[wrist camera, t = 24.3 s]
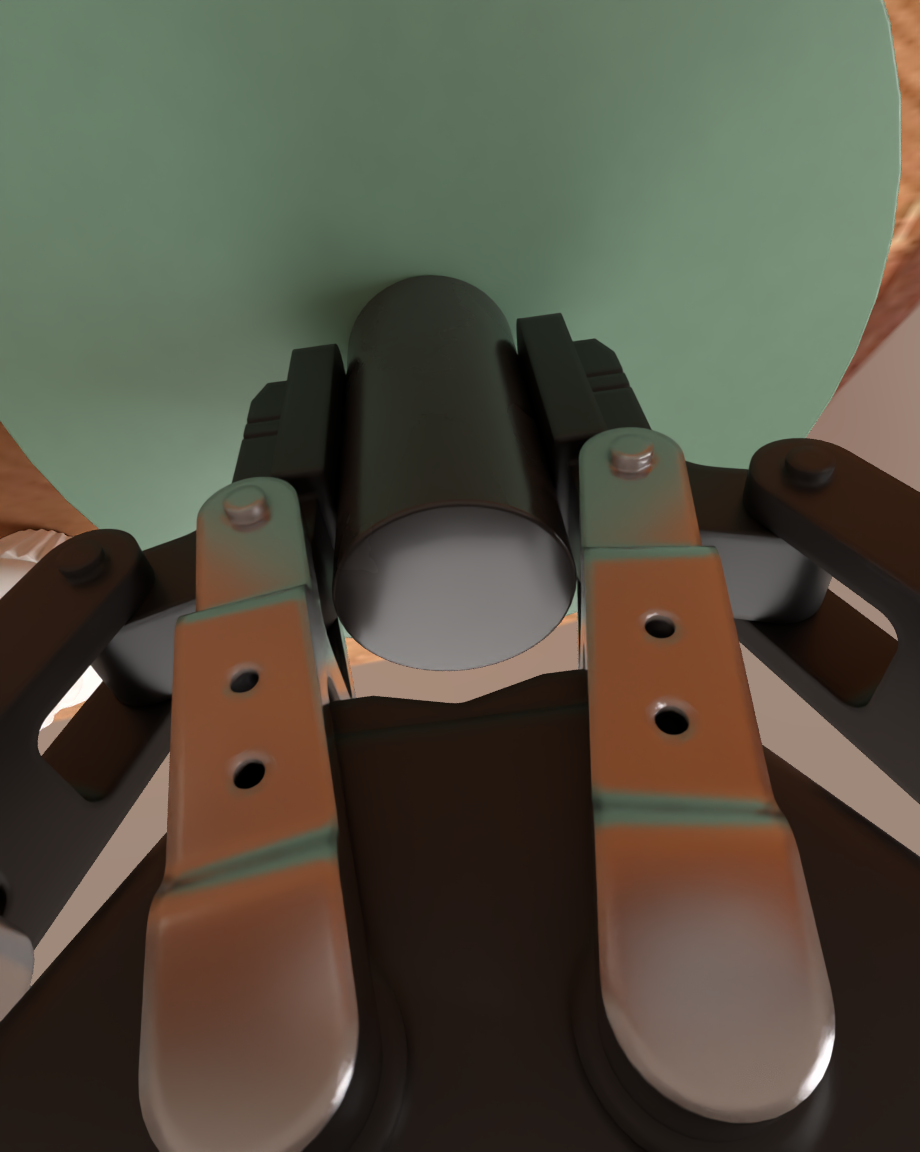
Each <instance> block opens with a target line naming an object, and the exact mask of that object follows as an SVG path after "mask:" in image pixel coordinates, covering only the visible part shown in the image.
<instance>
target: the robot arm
mask: <svg viewBox="0 0 920 1152" xmlns="http://www.w3.org/2000/svg"><path fill="white" fill-rule="evenodd" d="M516 333H517V353H518V358H519V362H520V365H521V369H522V373H523V376H524V380H525V383H526V387H527V391H528V394H529V398H530V402H531V405H532V409H533V412H534V416H535V420H536V423H537V427H538V431H539V434H540V438H541V441H542V445H543V449H544V452H545V456H546V460H547V463H548V467H549V470H550V474H551V478H552V481H553V485H554V489H555V492H556V496H557V499H558V503H559V507H560V510H561V514H562V517H563V521H564V525H565V528H566V532H567V536H568V539H569V543H570V546H571V550H572V554H573V557H574V561H575V565H576V570H577V629H578V630H577V632H578V670H571V671H563V672H555V673H547V674H542V675H539V676H536V677H534V678H531V679H528V680H525V681H523V682H520V683H517V684H514V685H511V686H509V687H506V688H503V689H501V690H498V691H495V692H492V693H490V694H487V695H484V696H481V697H479V698H475V699H473V700H470V701H467V702H463V703H443V702H433V701H432V702H431V701H422V700H412V699H401V698H391V697H380V696H369V697H361V698H356V695H355V689H354V684H353V679H352V673H351V668H350V663H349V657H348V652H347V647H346V642H345V636H344V631H343V626H342V624H341V622H340V620H339V618H338V616H337V613H336V611H335V608H334V604H333V600H332V576H333V561H334V547H335V532H336V517H337V502H338V488H339V473H340V458H341V443H342V429H343V414H344V399H345V384H346V372H345V368H344V364H343V360H342V356H341V353H340V350H339V347H338V345H337V344H328V345H321V346H314V347H307V348H300V349H293V351H292V354H291V360H290V365H289V371H288V377H287V380H286V381H279V382H272V383H267V384H266V385H265V386H264V387H263V389H262V390H261V391H260V392H259V393H258V394H257V395H256V397H255V398H254V399H253V400H252V401H251V404H250V408H249V413H248V417H247V424H246V425H245V429H244V434H243V437H244V439H243V440H242V442H241V446H240V450H239V455H238V459H237V463H236V467H235V472H234V476H233V480H232V484H229V485H227V486H225V487H223V488H221V489H220V490H218V491H217V492H215V493H214V494H213V495H212V496H210V497H209V498H208V499H207V500H206V501H205V502H204V504H203V505H202V507H201V508H200V510H199V512H198V515H197V524H196V530H195V531H193V532H191V533H189V534H187V535H185V536H182V537H180V538H177V539H174V540H171V541H169V542H166V543H163V544H160V545H157V546H155V547H152V548H149V549H146V550H143V551H142V549H141V548H140V546H139V544H138V543H137V541H136V539H135V538H134V537H133V536H132V535H131V534H129V533H127V532H125V531H122V530H118V529H99V530H93V531H89V532H85V533H82V534H80V535H77V536H74V537H72V538H70V539H68V540H66V541H64V542H63V543H61V544H59V545H58V546H56V547H55V548H53V549H52V550H51V551H49V552H48V553H47V554H46V555H45V556H44V557H43V558H42V559H41V560H40V561H39V562H38V563H37V564H36V565H35V566H34V567H32V568H31V569H30V570H29V571H28V572H27V573H26V574H25V575H24V576H23V577H22V578H21V579H20V580H19V581H18V582H17V583H16V584H15V585H14V586H13V587H12V588H11V589H10V590H9V591H8V592H7V593H6V594H5V595H4V596H3V597H2V598H1V599H0V1152H920V857H919V856H918V855H917V854H915V853H914V852H912V851H911V850H910V849H908V848H907V847H905V846H904V845H903V844H901V843H900V842H898V841H897V840H896V839H894V838H893V837H891V836H890V835H888V834H887V833H886V832H884V831H883V830H882V829H880V828H879V827H877V826H876V825H875V824H873V823H872V822H870V821H869V820H868V819H866V818H865V817H863V816H862V815H860V814H859V813H858V812H856V811H855V810H853V809H852V808H851V807H849V806H848V805H846V804H845V803H844V802H842V801H841V800H839V799H838V798H836V797H835V796H834V795H832V794H831V793H830V792H828V791H827V790H825V789H824V788H822V787H821V786H820V785H818V784H817V783H815V782H814V781H812V780H811V779H810V778H808V777H807V776H806V775H804V774H803V773H801V772H800V771H799V770H797V769H796V768H794V767H793V766H792V765H790V764H789V763H787V762H786V761H785V760H783V759H782V758H780V757H779V756H778V755H776V754H775V753H773V752H772V751H770V750H769V749H768V748H766V747H765V746H763V745H762V743H761V738H760V734H759V729H758V725H757V721H756V716H755V711H754V707H753V702H752V698H751V693H750V689H749V684H748V680H747V675H746V671H745V666H744V662H743V658H742V653H741V648H740V644H739V642H740V643H742V644H743V645H744V646H745V647H746V648H747V649H748V650H750V652H752V653H753V654H754V655H755V656H756V657H757V658H758V659H759V660H760V661H762V662H763V663H764V664H765V665H766V666H767V667H768V668H769V669H770V670H772V671H773V672H774V673H775V674H776V675H777V676H778V677H779V678H780V679H781V680H783V681H784V682H785V683H786V684H787V685H788V686H789V687H790V688H792V689H793V690H794V691H795V692H796V693H797V694H798V695H799V696H800V697H801V698H803V699H804V700H805V701H806V702H807V703H808V704H809V705H810V706H811V707H813V708H814V709H815V710H816V711H817V712H818V713H819V714H820V715H821V716H823V717H824V718H825V719H826V720H827V721H828V722H829V723H831V725H833V726H834V727H835V728H836V729H837V730H838V731H839V732H840V733H841V734H843V735H844V736H845V737H846V738H847V739H848V740H849V741H850V742H851V743H852V744H854V745H855V746H856V747H857V748H858V749H859V750H860V751H861V752H862V753H863V754H865V755H866V756H867V757H868V758H869V759H870V760H871V761H873V762H874V763H875V764H876V765H877V766H878V767H879V768H880V769H881V770H882V771H884V772H885V773H886V774H887V775H888V776H889V777H890V778H891V779H892V780H893V781H894V782H896V783H897V784H898V785H899V786H900V787H901V788H902V789H903V790H904V791H906V792H907V793H908V794H909V795H910V796H911V797H912V798H913V799H914V800H916V801H917V802H918V803H919V804H920V492H918V491H916V490H915V489H913V488H911V487H910V486H908V485H906V484H905V483H903V482H901V481H899V480H898V479H896V478H894V477H892V476H891V475H889V474H887V473H886V472H884V471H882V470H880V469H879V468H877V467H875V466H874V465H872V464H870V463H868V462H867V461H865V460H863V459H862V458H860V457H858V456H856V455H855V454H853V453H851V452H850V451H848V450H846V449H844V448H842V447H840V446H837V445H834V444H832V443H829V442H825V441H821V440H816V439H807V438H789V439H782V440H777V441H774V442H771V443H768V444H766V445H764V446H762V447H761V448H759V449H758V450H757V451H756V452H755V453H754V455H753V456H752V458H751V461H750V464H749V469H738V468H725V467H713V466H705V465H700V464H695V463H692V462H688V461H685V457H684V453H683V451H682V449H681V447H680V446H679V445H678V444H677V443H676V442H675V441H674V440H673V439H671V438H670V437H668V436H667V435H664V434H662V433H660V432H657V431H654V430H652V429H651V427H650V425H649V423H648V421H647V419H646V416H645V414H644V412H643V410H642V408H641V406H640V404H639V402H638V400H637V398H636V395H635V393H634V391H633V389H632V387H630V383H629V381H628V379H627V376H626V374H625V373H623V368H622V366H621V364H620V362H619V360H618V358H617V355H616V353H615V352H614V351H613V350H611V349H610V348H608V347H607V346H606V345H604V344H603V343H601V342H600V341H598V340H597V339H595V338H593V339H586V340H579V341H572V338H571V336H570V333H569V331H568V328H567V326H566V323H565V321H564V318H563V316H562V314H561V313H554V314H547V315H539V316H532V317H525V318H518V319H517V323H516ZM832 576H833V577H834V578H836V579H837V580H838V581H840V582H841V583H842V584H844V585H845V586H846V587H848V588H849V589H851V590H852V591H853V592H855V593H856V594H857V595H859V596H860V597H861V598H863V599H864V600H865V601H867V602H868V603H870V604H871V605H872V606H874V607H875V608H876V609H878V610H879V611H880V612H881V613H883V614H884V615H885V616H886V617H887V618H888V620H889V621H890V622H891V624H892V625H893V627H894V629H895V631H896V634H897V638H898V641H897V640H896V639H894V638H893V637H892V636H890V635H889V634H888V633H886V632H885V631H884V630H882V629H881V628H880V627H878V626H877V625H876V624H874V623H873V622H872V621H870V620H869V619H868V618H866V617H865V616H864V615H862V614H861V613H860V612H858V611H857V610H856V609H854V608H853V607H852V606H850V605H849V604H848V603H846V602H845V601H844V600H842V599H841V598H840V597H838V596H837V595H835V594H834V593H833V592H832V591H830V590H829V589H828V586H829V584H830V581H831V579H832ZM90 665H91V666H92V668H93V669H94V670H95V672H96V673H97V674H98V675H99V677H100V678H101V679H102V680H103V681H102V682H101V684H100V685H99V686H98V687H97V688H96V690H95V691H94V692H93V693H92V695H91V696H90V697H89V698H88V700H87V701H86V702H85V703H84V704H83V706H82V707H81V708H80V709H79V711H78V712H77V713H76V714H75V716H74V717H73V718H72V719H71V720H70V722H69V723H68V724H67V726H66V727H65V728H64V729H63V730H62V732H61V733H60V734H59V735H58V737H57V738H56V739H55V740H54V741H53V743H52V744H51V745H50V747H49V748H48V749H47V750H46V751H45V752H44V754H43V755H42V756H41V755H40V753H39V750H38V735H39V731H40V729H41V726H42V724H43V722H44V721H45V719H46V718H47V716H48V715H49V714H50V713H51V711H52V710H53V709H54V708H55V707H56V706H57V704H58V703H59V702H60V701H61V700H62V698H63V697H64V696H65V695H66V694H67V692H68V691H69V690H70V689H71V688H72V687H73V685H74V684H75V683H76V682H77V681H78V679H79V678H80V677H81V676H82V675H83V673H84V672H85V671H86V670H87V669H88V667H89V666H90ZM169 752H170V766H169V768H170V769H169V793H168V819H167V820H168V821H167V833H166V834H165V835H164V836H163V837H162V838H161V839H160V840H159V842H158V843H157V844H156V845H155V846H154V847H153V848H152V850H151V851H150V852H149V853H148V854H147V855H146V856H145V858H144V859H143V860H142V861H141V862H140V863H139V864H138V865H137V867H136V868H135V869H134V870H133V871H132V872H131V873H130V875H129V876H128V877H127V878H126V879H125V880H124V881H123V883H122V884H121V885H120V886H119V887H118V888H117V889H116V891H115V892H114V893H113V894H112V895H111V896H110V897H109V899H108V900H107V901H106V902H105V903H104V904H103V905H102V907H101V908H100V909H99V910H98V911H97V912H96V913H95V914H94V916H93V917H92V918H91V919H90V920H89V921H88V923H87V924H86V925H85V926H84V927H83V928H82V929H81V931H80V932H79V933H78V934H77V935H76V936H75V937H74V938H73V940H72V941H71V942H70V943H69V944H68V945H67V946H66V948H65V949H64V950H63V951H62V952H61V953H60V954H59V956H58V957H57V958H56V959H55V960H54V961H53V962H52V963H51V965H50V966H49V967H48V968H47V969H46V970H45V971H44V973H43V974H42V975H41V976H40V977H39V979H37V981H36V982H35V983H34V984H33V985H32V986H30V983H31V979H32V974H33V968H34V950H35V948H36V947H37V945H38V944H39V942H40V940H41V939H42V938H43V936H44V935H45V933H46V932H47V930H48V929H49V928H50V926H51V925H52V923H53V922H54V920H55V919H56V917H57V916H58V914H59V913H60V911H61V910H62V909H63V907H64V906H65V904H66V903H67V901H68V900H69V898H70V897H71V895H72V894H73V892H74V891H75V889H76V888H77V887H78V885H79V884H80V882H81V881H82V879H83V877H84V876H85V874H86V873H87V872H88V870H89V869H90V868H91V866H92V865H93V863H94V862H95V860H96V859H97V857H98V856H99V854H100V853H101V851H102V850H103V848H104V847H105V846H106V844H107V843H108V841H109V840H110V838H111V837H112V835H113V834H114V832H115V831H116V829H117V828H118V827H119V825H120V824H121V822H122V821H123V819H124V818H125V816H126V815H127V813H128V812H129V810H130V809H131V807H132V806H133V805H134V803H135V802H136V800H137V799H138V797H139V796H140V794H141V793H142V791H143V790H144V788H145V787H146V785H147V784H148V782H149V781H150V780H151V778H152V777H153V775H154V774H155V772H156V771H157V769H158V768H159V766H160V765H161V763H162V762H163V761H164V759H165V758H166V756H167V755H168V753H169Z"/></svg>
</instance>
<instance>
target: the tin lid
mask: <svg viewBox="0 0 920 1152" xmlns="http://www.w3.org/2000/svg"><path fill="white" fill-rule="evenodd" d="M901 169H902V154H901V92H900V86H899V79H898V72H897V65H896V58H895V51H894V44H893V37H892V30H891V23H890V19H889V15H888V12H887V9H886V5H885V2H884V0H0V422H1V423H2V424H3V426H4V427H5V428H6V430H7V431H8V432H9V434H10V435H11V436H12V438H13V439H14V440H15V442H16V443H17V444H18V446H19V447H20V448H21V450H22V451H23V452H24V454H25V455H26V456H27V458H28V459H29V460H30V462H31V463H32V464H33V465H34V466H35V467H36V468H37V469H38V470H39V471H40V472H41V473H42V475H43V476H44V477H45V478H46V479H47V480H48V481H49V482H50V483H51V484H52V485H53V486H54V487H55V488H56V490H57V491H58V492H59V493H60V494H61V495H62V496H63V497H64V498H65V499H66V500H67V501H68V502H69V503H70V504H71V505H72V506H73V507H74V508H76V509H77V510H78V511H79V512H80V513H81V514H83V515H84V516H85V517H86V518H87V519H88V520H89V521H91V522H92V523H93V524H94V525H95V526H96V527H97V528H99V529H118V530H122V531H125V532H127V533H129V534H131V535H132V536H133V537H134V538H135V539H136V541H137V543H138V544H139V546H140V548H141V549H142V551H143V550H146V549H149V548H152V547H155V546H157V545H160V544H163V543H166V542H169V541H171V540H174V539H177V538H180V537H182V536H185V535H187V534H189V533H191V532H193V531H195V530H196V524H197V515H198V512H199V510H200V508H201V507H202V505H203V504H204V502H205V501H206V500H207V499H208V498H209V497H210V496H212V495H213V494H214V493H215V492H217V491H218V490H220V489H221V488H223V487H225V486H227V485H229V484H232V480H233V476H234V472H235V467H236V463H237V459H238V455H239V450H240V446H241V442H242V440H243V439H244V437H243V434H244V429H245V425H246V424H247V417H248V413H249V408H250V404H251V401H252V400H253V399H254V398H255V397H256V395H257V394H258V393H259V392H260V391H261V390H262V389H263V387H264V386H265V385H266V384H267V383H272V382H279V381H286V380H287V377H288V371H289V365H290V360H291V354H292V351H293V349H300V348H307V347H314V346H321V345H328V344H337V345H338V347H339V350H340V353H341V356H342V360H343V364H344V368H345V372H346V384H345V399H344V414H343V429H342V443H341V458H340V473H339V488H338V502H337V517H336V532H335V547H334V561H333V576H332V600H333V604H334V608H335V611H336V613H337V616H338V618H339V620H340V622H341V624H342V626H343V631H344V636H345V637H347V638H353V639H354V640H355V641H356V642H358V643H359V644H360V645H361V646H363V647H364V648H365V649H367V650H368V651H370V652H372V653H373V654H375V655H377V656H379V657H381V658H383V659H385V660H388V661H390V662H394V663H396V664H399V665H403V666H407V667H411V668H416V669H423V670H433V671H458V670H469V669H474V668H481V667H485V666H488V665H493V664H496V663H499V662H502V661H505V660H508V659H510V658H513V657H514V656H517V655H519V654H521V653H523V652H525V651H527V650H528V649H530V648H532V647H534V646H535V645H536V644H538V643H539V642H540V641H542V640H543V639H545V638H546V637H547V636H548V635H549V634H550V633H551V632H552V631H553V630H554V629H555V628H556V627H557V626H558V625H559V624H560V623H561V621H562V620H563V618H564V617H565V616H567V615H570V614H573V613H575V612H577V570H576V565H575V561H574V557H573V554H572V550H571V546H570V543H569V539H568V536H567V532H566V528H565V525H564V521H563V517H562V514H561V510H560V507H559V503H558V499H557V496H556V492H555V489H554V485H553V481H552V478H551V474H550V470H549V467H548V463H547V460H546V456H545V452H544V449H543V445H542V441H541V438H540V434H539V431H538V427H537V423H536V420H535V416H534V412H533V409H532V405H531V402H530V398H529V394H528V391H527V387H526V383H525V380H524V376H523V373H522V369H521V365H520V362H519V358H518V353H517V333H516V323H517V319H518V318H525V317H532V316H539V315H547V314H554V313H561V314H562V316H563V318H564V321H565V323H566V326H567V328H568V331H569V333H570V336H571V338H572V341H579V340H586V339H593V338H595V339H597V340H598V341H600V342H601V343H603V344H604V345H606V346H607V347H608V348H610V349H611V350H613V351H614V352H615V353H616V355H617V358H618V360H619V362H620V364H621V366H622V368H623V373H625V374H626V376H627V379H628V381H629V383H630V387H632V389H633V391H634V393H635V395H636V398H637V400H638V402H639V404H640V406H641V408H642V410H643V412H644V414H645V416H646V419H647V421H648V423H649V425H650V427H651V429H652V430H654V431H657V432H660V433H662V434H664V435H667V436H668V437H670V438H671V439H673V440H674V441H675V442H676V443H677V444H678V445H679V446H680V447H681V449H682V451H683V453H684V457H685V461H688V462H692V463H695V464H700V465H705V466H713V467H725V468H738V469H749V464H750V461H751V458H752V456H753V455H754V453H755V452H756V451H757V450H758V449H759V448H761V447H762V446H764V445H766V444H768V443H771V442H774V441H777V440H782V439H789V438H806V436H807V435H808V433H809V432H810V430H811V429H812V427H813V426H814V424H815V423H816V421H817V420H818V418H819V417H820V415H821V414H822V412H823V411H824V409H825V408H826V406H827V405H828V403H829V402H830V400H831V399H832V397H833V395H834V393H835V391H836V389H837V387H838V385H839V383H840V381H841V379H842V377H843V375H844V374H845V372H846V370H847V368H848V366H849V364H850V362H851V360H852V358H853V356H854V354H855V352H856V350H857V348H858V345H859V343H860V340H861V337H862V335H863V332H864V330H865V327H866V324H867V322H868V319H869V317H870V314H871V311H872V309H873V306H874V304H875V301H876V298H877V296H878V292H879V288H880V284H881V280H882V277H883V273H884V269H885V265H886V261H887V257H888V253H889V249H890V245H891V241H892V237H893V232H894V224H895V216H896V209H897V201H898V193H899V185H900V177H901Z"/></svg>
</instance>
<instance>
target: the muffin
mask: <svg viewBox="0 0 920 1152" xmlns="http://www.w3.org/2000/svg"><path fill="white" fill-rule="evenodd" d="M70 538H72V536H66V535H65V534H64V533H57V532H55V531H53V530H51V531H46V530H44V529H40V530H38V531H35V530H32V529H28V530H26V531H18V532H16V533H14V534H11V535H8V536H6V537H4V538H1V539H0V599H1V598H2V597H3V596H4V595H5V594H6V593H7V592H8V591H9V590H10V589H11V588H12V587H13V586H14V585H15V584H16V583H17V582H18V581H19V580H20V579H21V578H22V577H23V576H24V575H25V574H26V573H27V572H28V571H29V570H30V569H31V568H32V567H34V566H35V565H36V564H37V563H38V562H39V561H40V560H41V559H42V558H43V557H44V556H45V555H46V554H47V553H48V552H49V551H51V550H52V549H53V548H55V547H56V546H58V545H59V544H61V543H63V542H64V541H66V540H68V539H70ZM102 681H103V680H102V679H101V678H100V677H99V675H98V674H97V673H96V672H95V670H94V669H93V668H92V666H91V665H90V666H89V667H88V669H87V670H86V671H85V672H84V673H83V675H82V676H81V677H80V678H79V679H78V681H77V682H76V683H75V684H74V685H73V687H72V688H71V689H70V690H69V691H68V692H67V694H66V695H65V696H64V697H63V698H62V700H61V701H60V702H59V703H58V704H57V706H56V707H55V708H54V709H53V710H52V711H51V713H50V714H49V715H48V716H47V718H46V719H45V721H44V722H43V724H42V726H41V729H42V728H44V727H46V726H48V725H50V724H51V723H52V722H53V719H54V715H55V714H56V713H57V712H58V711H60V710H61V709H63V708H67V707H71V706H74V705H76V704H79V703H81V702H83V701H85V700H87V699H88V698H89V697H90V696H91V695H92V693H93V692H94V691H95V690H96V688H97V687H98V686H99V685H100V684H101V682H102ZM41 729H40V731H41ZM40 731H39V732H40Z"/></svg>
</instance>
